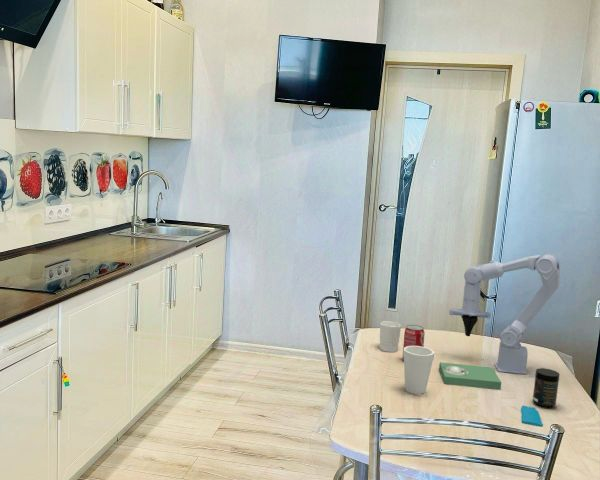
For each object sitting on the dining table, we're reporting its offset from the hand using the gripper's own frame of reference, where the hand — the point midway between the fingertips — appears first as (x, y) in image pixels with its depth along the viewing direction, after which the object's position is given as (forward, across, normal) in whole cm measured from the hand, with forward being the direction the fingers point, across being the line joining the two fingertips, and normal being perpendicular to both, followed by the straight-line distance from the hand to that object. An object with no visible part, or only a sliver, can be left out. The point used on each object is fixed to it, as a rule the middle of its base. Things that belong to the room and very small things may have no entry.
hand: (467, 335), depth 216 cm
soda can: (+10, -20, -8) cm, 24 cm away
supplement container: (+10, +18, -36) cm, 41 cm away
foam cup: (+10, -21, -35) cm, 42 cm away
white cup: (+10, -28, +4) cm, 30 cm away
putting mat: (+9, -2, -20) cm, 22 cm away
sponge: (+10, +12, -46) cm, 49 cm away
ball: (+7, -7, -20) cm, 23 cm away
